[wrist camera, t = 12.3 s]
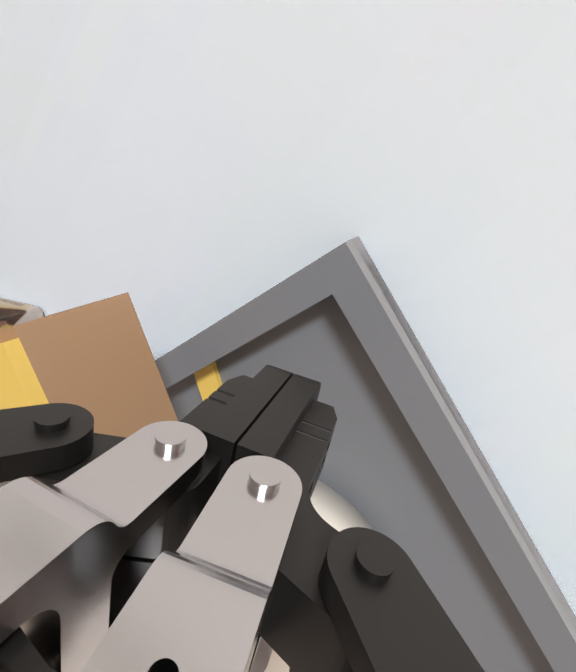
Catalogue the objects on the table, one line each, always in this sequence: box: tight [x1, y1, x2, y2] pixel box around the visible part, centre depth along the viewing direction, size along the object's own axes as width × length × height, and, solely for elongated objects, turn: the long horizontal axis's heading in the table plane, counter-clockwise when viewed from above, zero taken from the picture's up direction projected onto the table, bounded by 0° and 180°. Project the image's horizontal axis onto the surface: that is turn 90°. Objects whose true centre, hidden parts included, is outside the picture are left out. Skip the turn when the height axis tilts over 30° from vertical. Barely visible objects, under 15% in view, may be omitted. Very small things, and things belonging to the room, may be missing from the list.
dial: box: [0, 293, 373, 672], centre depth 15 cm, size 20×12×7 cm, turn 18°
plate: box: [155, 237, 576, 672], centre depth 19 cm, size 22×22×3 cm
